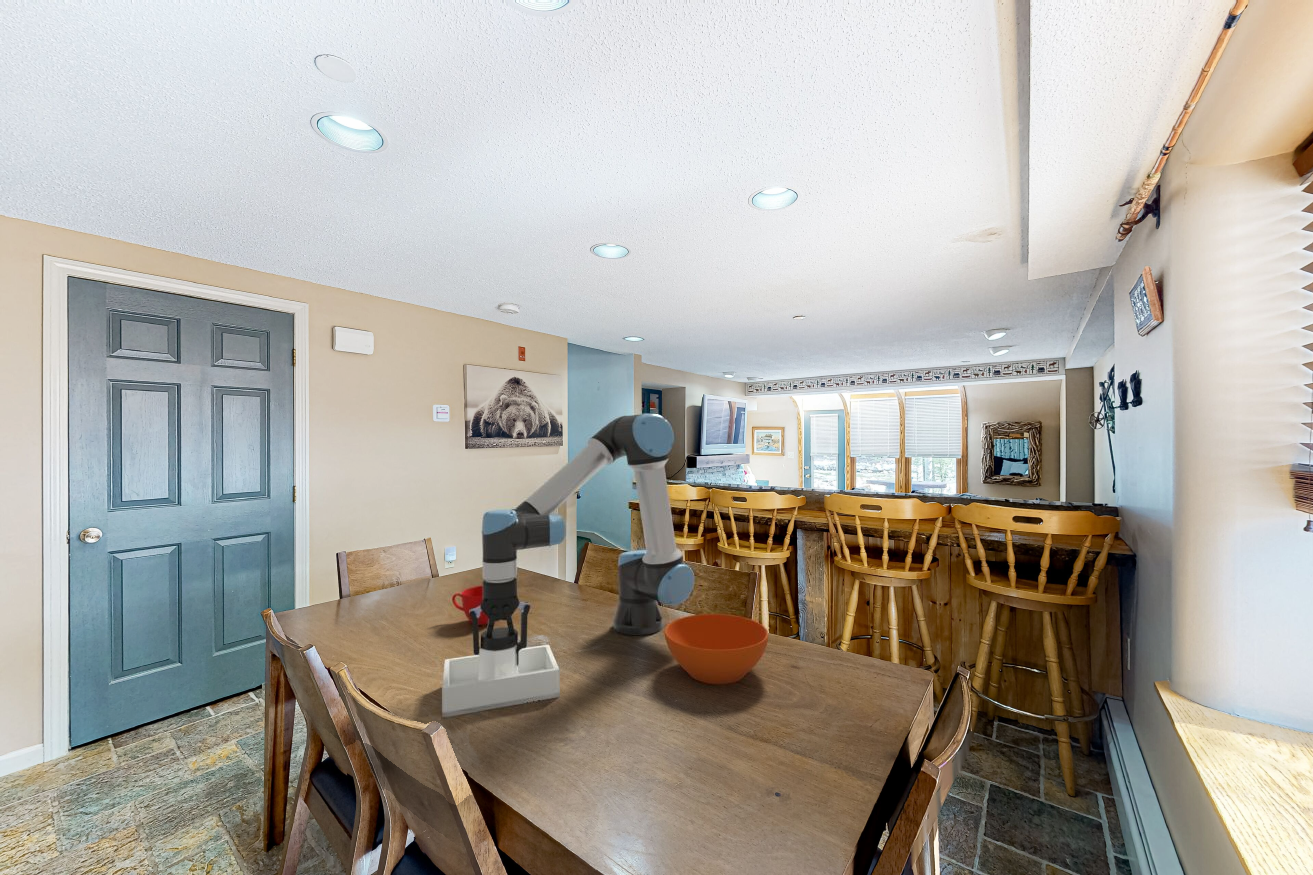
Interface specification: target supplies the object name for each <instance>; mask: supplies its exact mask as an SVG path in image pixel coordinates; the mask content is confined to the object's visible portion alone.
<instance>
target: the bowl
mask: <svg viewBox="0 0 1313 875" xmlns="http://www.w3.org/2000/svg"><path fill="white" fill-rule="evenodd" d="M664 638H665V642H666V645H667V647H668V650H669V652H670V653H671V655H672V657H673V658H674V660H676V662H677V663H678V664H679V665H680V666H681V668H683V669H684V670H685V672H686V673H687V674H689V676H690V677H692V678H693V679H695V680H696V681H699V682H702V683H704V684H705V683H706V684H711V685H727V684H732V683H736V682H738V681H740V680H742V679H743V678H744V677H745V676H746V675H747V674H748V673H749V672H750V671H751V670H752V669H753V668H754V667H756V665H757V664H758V663H759V661H760V660H761V659H762V657H763V655H764V653H765V651H766V648H767V647H768V646H767V645H768V642H769V632H768V630H767V627H766V626H764V625H763V624H761V623H760V622H758V621H756V620H753V619H751V618H748V617H744V616H740V615H739V616H738V615H733V614H726V613H703V614H702V613H700V614H694V615H693V614H692V615H689V616H688V615H687V616H683V617H680V618H677V619H675V620H673V621H671V622H670V623H669V624H667V626H666V627H665V628H664Z"/></svg>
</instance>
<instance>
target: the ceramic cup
mask: <svg viewBox="0 0 1313 875" xmlns="http://www.w3.org/2000/svg"><path fill="white" fill-rule="evenodd" d="M456 597H460V598H461V604H462V606H461V605H459V604H458V602H457V600H456ZM451 600H452V604H453V605H454V607H456V608H457V609H458V610H460V611H463V612H464V615H465V616H466V618H467V620H468V621H469V622H471V623H472V624H473V622H472V620H471V618H470V615H469V610H470V609H471V608H477V607H479V606H480V605H481V602H482V600H483V585H478V586H472V587H469V588H466V589H464V590H463V591H462V592H461V593H459V592H458V593H457V592H456V593H455V594H454V595H452V598H451ZM486 624H488V617H487V616H486V615H485V613H484V612H483V611H481V612H480V617H479V618H478V625H482V626H487V625H486Z"/></svg>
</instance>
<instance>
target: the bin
mask: <svg viewBox="0 0 1313 875" xmlns="http://www.w3.org/2000/svg"><path fill="white" fill-rule="evenodd" d="M443 666H444V668H443V677H442V685H441V686H442V687H441V704H442V705H441V714H442V715H441V716H442V719H444V717H445V718H449V717H455V716H461V715H462V716H463V715H466V714H472V713H477V712H482V711H484V712H485V711H488V710H489V711H490V710H493V709H495V710H496V709H500V708H506V707H511V706H515V705H521V704H528V703H533V701H534V702H538V700H540V701H543V700H544V701H545V700H551V699H556V698H560V697H561V694H560V692H561V690H560V689H561V687H560V668H559V665H558V663H557V661H556V659H555V656H554V654H553V651H552V649H551V647H550V645H549V644H544V645H537V646H529V647H526V648H523V649H521V650H519V664H518V674H516V675H510V676H504V677H498V678H491V679H485V680H479V681H478V678H479V655H474V654H473V655H468V656H461V657H454V658H447V659H444V665H443ZM527 702H528V703H527Z"/></svg>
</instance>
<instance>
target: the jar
mask: <svg viewBox="0 0 1313 875" xmlns="http://www.w3.org/2000/svg"><path fill="white" fill-rule="evenodd" d="M514 631H515V633H510V634H509V630H508V627H493V632H492V635H491V636H486V630H484V631H483V632H481V634H480V644H479V647H480V648H479V678H478V681H479V680H485V679H491V678H498V677H504V676H510V675H516V674H518V666H517V654H516V649H517V644H518V643H519V642H520V641H519V636H518V635H519V632H518V630H517V629H515V628H514Z"/></svg>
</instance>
